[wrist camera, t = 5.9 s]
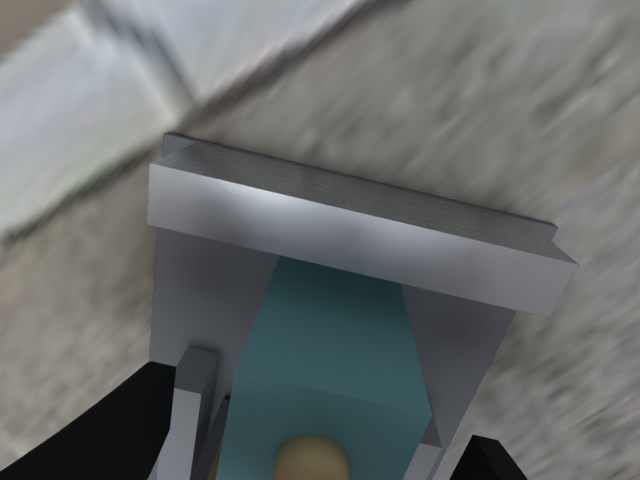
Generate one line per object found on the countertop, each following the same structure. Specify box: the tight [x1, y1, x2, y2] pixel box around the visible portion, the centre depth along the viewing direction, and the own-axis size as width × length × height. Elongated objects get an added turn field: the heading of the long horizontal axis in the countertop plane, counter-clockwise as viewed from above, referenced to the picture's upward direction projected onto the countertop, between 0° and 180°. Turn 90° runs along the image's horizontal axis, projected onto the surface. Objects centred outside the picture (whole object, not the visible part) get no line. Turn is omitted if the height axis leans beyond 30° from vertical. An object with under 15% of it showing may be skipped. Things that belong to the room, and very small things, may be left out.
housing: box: [216, 255, 432, 480], centre depth 11 cm, size 4×4×6 cm
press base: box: [147, 132, 579, 480], centre depth 14 cm, size 12×16×3 cm
